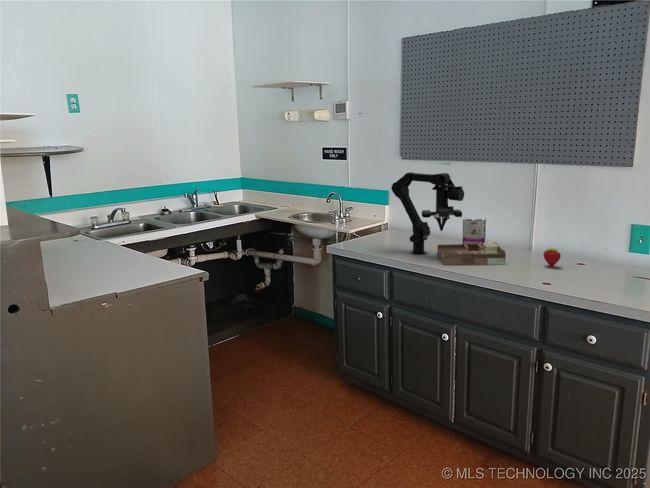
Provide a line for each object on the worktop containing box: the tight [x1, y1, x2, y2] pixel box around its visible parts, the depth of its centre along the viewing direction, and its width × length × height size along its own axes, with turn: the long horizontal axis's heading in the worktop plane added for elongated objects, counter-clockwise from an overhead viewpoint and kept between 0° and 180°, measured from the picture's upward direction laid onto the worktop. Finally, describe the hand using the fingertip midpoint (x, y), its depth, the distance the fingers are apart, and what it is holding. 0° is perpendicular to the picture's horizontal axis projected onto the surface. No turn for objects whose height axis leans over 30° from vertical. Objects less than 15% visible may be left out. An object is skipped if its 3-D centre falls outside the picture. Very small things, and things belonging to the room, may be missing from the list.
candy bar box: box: [462, 217, 487, 244], centre depth 261 cm, size 11×5×16 cm, turn 68°
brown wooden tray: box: [437, 241, 507, 266], centre depth 244 cm, size 20×28×6 cm
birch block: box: [483, 242, 499, 254], centre depth 243 cm, size 6×6×4 cm
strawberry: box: [543, 246, 562, 268], centre depth 226 cm, size 6×8×10 cm
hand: (441, 230), depth 248 cm, fingers closed
